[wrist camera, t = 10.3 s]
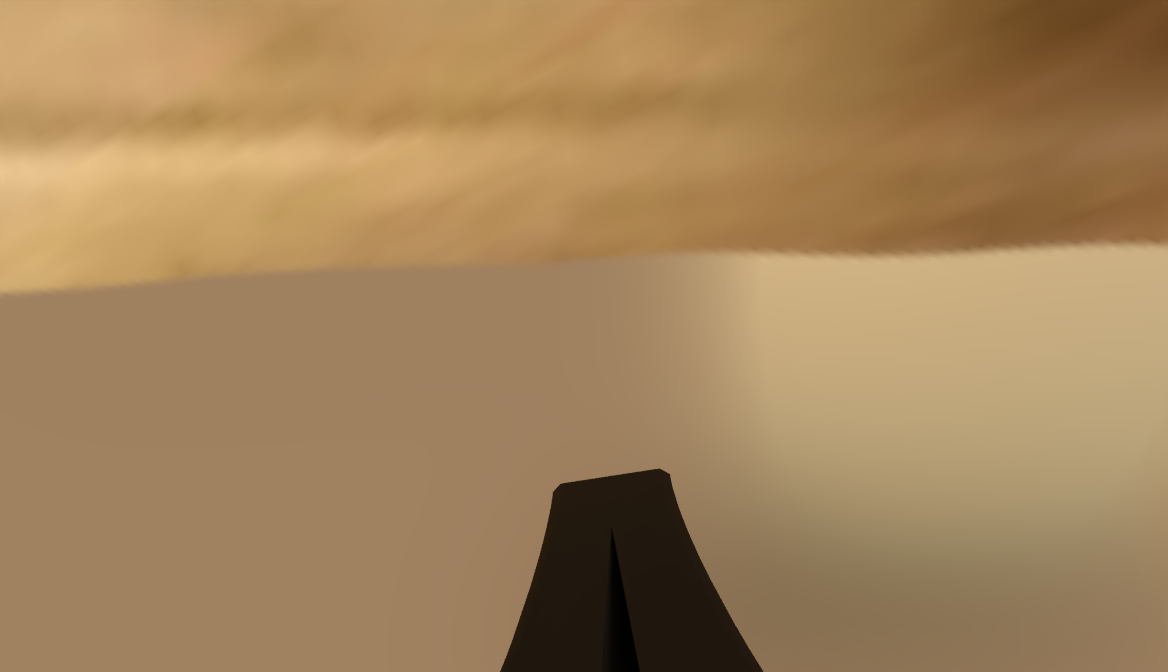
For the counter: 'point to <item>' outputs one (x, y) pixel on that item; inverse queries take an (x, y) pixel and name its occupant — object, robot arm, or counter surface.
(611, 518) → the robot arm
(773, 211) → the counter surface
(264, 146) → the counter surface
